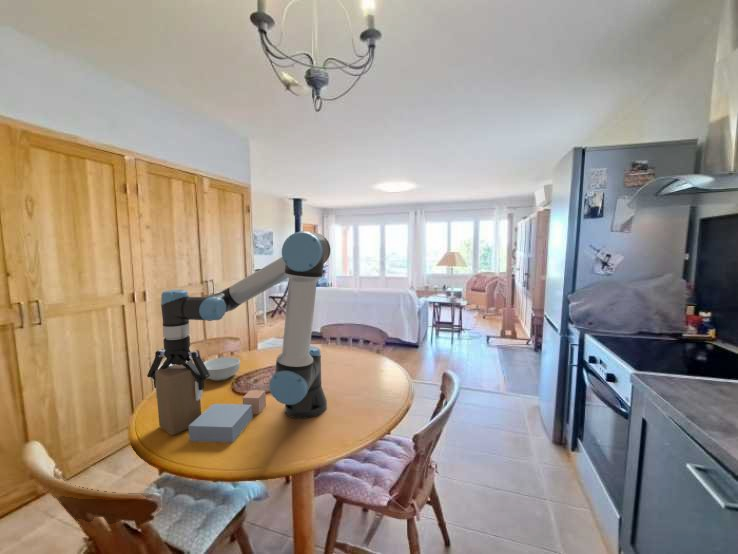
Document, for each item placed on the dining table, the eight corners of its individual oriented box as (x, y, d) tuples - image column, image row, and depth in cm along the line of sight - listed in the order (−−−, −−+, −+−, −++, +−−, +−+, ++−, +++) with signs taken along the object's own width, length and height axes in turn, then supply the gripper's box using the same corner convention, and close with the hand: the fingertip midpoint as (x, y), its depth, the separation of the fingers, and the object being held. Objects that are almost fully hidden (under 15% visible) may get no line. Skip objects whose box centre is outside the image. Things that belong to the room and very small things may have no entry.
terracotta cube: (266, 405, 122) (265, 390, 121) (259, 414, 116) (258, 398, 115) (250, 405, 122) (249, 390, 122) (243, 413, 117) (242, 397, 116)
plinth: (252, 418, 113) (251, 404, 113) (232, 442, 99) (232, 427, 99) (214, 417, 114) (213, 403, 114) (189, 441, 100) (188, 425, 100)
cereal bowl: (244, 379, 147) (243, 364, 146) (204, 388, 137) (202, 372, 137) (236, 367, 161) (235, 353, 160) (198, 375, 151) (197, 361, 151)
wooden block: (189, 414, 116) (185, 360, 114) (203, 423, 110) (199, 366, 108) (158, 427, 108) (153, 369, 106) (171, 437, 102) (167, 376, 100)
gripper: (219, 334, 110) (221, 394, 112) (149, 332, 111) (152, 391, 113) (206, 341, 102) (209, 404, 104) (131, 338, 104) (136, 401, 106)
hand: (179, 398), depth 109 cm, fingers closed on wooden block, 13 cm apart
